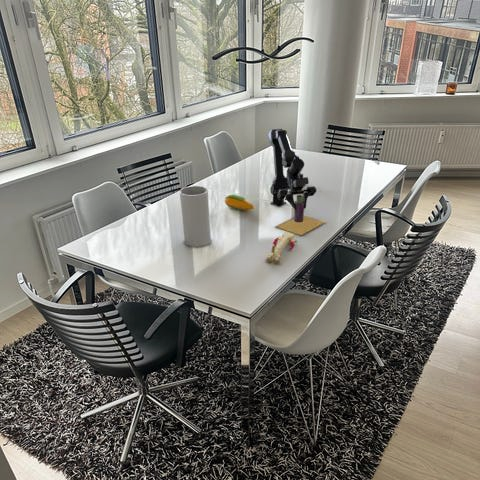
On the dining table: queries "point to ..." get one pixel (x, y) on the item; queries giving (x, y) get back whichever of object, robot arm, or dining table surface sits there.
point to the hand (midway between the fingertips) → (300, 209)
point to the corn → (238, 203)
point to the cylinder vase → (195, 215)
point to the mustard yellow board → (300, 225)
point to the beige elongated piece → (281, 246)
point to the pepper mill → (299, 209)
